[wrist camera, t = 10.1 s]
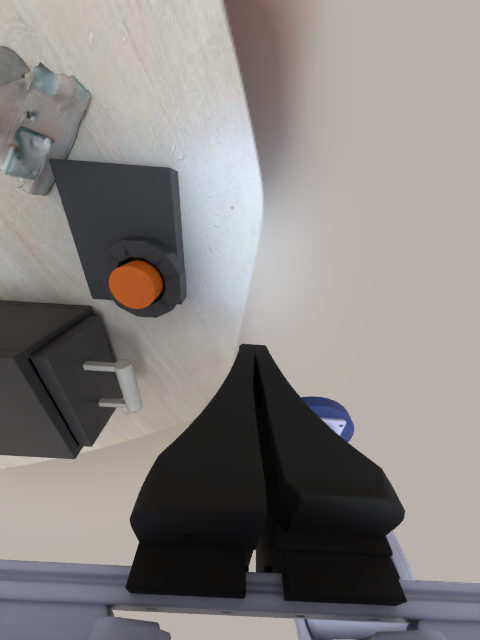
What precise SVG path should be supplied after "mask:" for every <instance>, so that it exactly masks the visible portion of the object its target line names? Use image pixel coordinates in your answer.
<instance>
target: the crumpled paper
mask: <svg viewBox="0 0 480 640" xmlns="http://www.w3.org/2000/svg"><path fill="white" fill-rule="evenodd" d="M90 98H91V93H90V92H89V91H88V90H86V89H85V88H84V87H83V86H82V85H81V83H80V82H79V81H78V80H77V79H76V78H75V77H74V76H73V75H72V76H71V78H70V77H69V76H67V75H66V74H55V73H53V72H52V71H50V70H49V69H48V68H46V67H45V66H44V65H43V64H42V63H41V62H40V64H39V66H37V67H34V68H33V67H30V66H28V65H26V63H25V62H24V61H23V60H22V58H21V57H20V56H19V55H18V54H17V53H16V52H15V51H13V50H11V49H9V48H8V47H5V46H0V170H2V171H4V172H5V173H6V174H7V175H11V176H15V177H18V179H19V180H21V181H24V184H23V186H21V187H17V188H21V189H23V190H24V191H26V192H27V193H29V194H34V195H44V196H46V195H47V192H48V191H49V190H50V187H51V186H52V184H53V183H54V181H55V178H54V175H53V172H52V169H51V166H50V163H49V159H59V160H65V159H66V157H67V155H68V153H69V151H70V150H71V147H72V146H73V144H74V141H75V138H76V137H77V129H78V126H79V123H80V120H81V119H82V118H84V113H85V112H86V108H87V106H88V103H89V100H90Z"/></svg>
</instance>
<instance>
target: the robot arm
mask: <svg viewBox="0 0 480 640" xmlns="http://www.w3.org/2000/svg"><path fill="white" fill-rule="evenodd" d="M345 425H346V421H345V419H343V418H326V417H319V416H318V415H316V414H315V413H314V412H313V410H312V409H311V408H310V407H309V406H308V405H307V404H306V403H305V402H304V401H303V400H302V398H301V397H300V396H299V395H298V394H297V393H296V391H295V390H294V389H293V388H292V386H291V385H290V384H289V382H288V381H287V380H286V378H285V377H284V375H283V374H282V372H281V371H280V369H279V368H278V366H277V365H276V363H275V362H274V360H273V358H272V356H271V355H270V353H269V351H268V349H267V347H266V346H265V345H251V344H241V345H240V347H239V352H238V355H237V357H236V360H235V362H234V364H233V366H232V368H231V370H230V372H229V374H228V376H227V377H226V379H225V381H224V383H223V384H222V386H221V387H220V389H219V390H218V392H217V393H216V395H215V396H214V397H213V399H212V400H211V401H210V403H209V404H208V405H207V406H206V408H205V409H204V410H203V411H202V412H201V414H200V415H199V416H198V417H197V418H196V419H195V420H194V421H193V422H192V424H191V425H190V426H189V427H188V428H187V429H186V430H185V431H184V432H183V433H182V434H181V435H180V436H179V437H178V438H177V439H176V440H175V441H174V442H173V443H172V444H170V445H169V447H167V448H166V449H165V450H164V451H163V452H162V453H161V454H160V455H159V456H158V458H157V459H156V461H155V463H154V465H153V466H152V468H151V470H150V471H149V474H148V475H147V477H146V479H145V481H144V483H143V485H142V487H141V490H140V492H139V495H138V498H137V500H136V503H135V506H134V509H133V511H132V514H131V517H130V523H131V527H132V529H133V531H134V533H135V535H136V537H137V538H138V540H139V545H138V548H137V551H136V555H135V558H134V561H133V564H132V566H118V565H98V564H78V563H57V562H38V561H17V560H0V640H171V636H170V633H168V632H165V631H163V630H160V627H159V624H158V623H157V622H149V621H142V620H135V619H127V618H120V617H114V614H113V611H112V610H125V611H146V612H167V613H189V614H210V615H232V616H254V617H275V618H294V621H295V624H296V629H297V634H298V639H299V640H332V639H357V640H480V583H460V582H459V583H458V582H439V581H420V580H416V579H415V577H414V574H413V572H412V570H411V568H410V566H409V563H408V561H407V559H406V557H405V555H404V553H403V550H402V548H401V546H400V544H399V542H398V540H397V538H396V536H395V534H394V532H393V531H392V530H393V529H395V528H396V527H397V526H398V525H399V524H400V523H401V522H402V521H403V519H404V515H405V510H404V508H403V506H402V504H401V502H400V501H399V498H398V496H397V494H396V492H395V490H394V489H393V487H392V485H391V483H390V481H389V480H388V478H387V477H386V475H385V473H384V472H383V470H382V469H381V468H380V467H379V466H378V465H376V464H375V463H374V462H372V461H371V460H370V459H368V458H367V457H366V456H364V455H363V454H362V453H360V452H359V451H358V450H357V449H355V448H354V447H352V446H351V445H350V444H348V442H346V441H345V440H344V439H343V438H342V437H341V436H340V434H341V432H342V430H343V429H344V427H345ZM253 550H256V572H249V567H248V566H249V563H250V560H251V557H252V553H253Z"/></svg>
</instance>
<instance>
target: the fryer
mask: <svg viewBox="0 0 480 640" xmlns="http://www.w3.org/2000/svg"><path fill="white" fill-rule="evenodd" d="M87 316H94V313H93V310H92V307H91V306H78V305H63V304H48V303H33V302H17V301H2V300H0V455H11V456H29V457H47V458H65V459H75V458H76V457H77V455H78V454H79V452H80V450H81V449H82V448H83V446H80V445H79V443H78V442H77V440H76V438H75V436H74V434H73V433H72V431H71V433H70V432H69V430H68V428H67V426H66V425H65V423H64V421H63V419H62V418H61V416H60V414H59V412H58V411H57V409H56V407H55V405H54V404H53V402H52V400H51V398H50V397H49V395H48V393H47V392H46V390H45V388H44V386H43V385H42V383H41V381H40V379H39V378H38V376H37V374H36V372H35V371H34V369H33V367H32V365H31V364H30V362H29V360H28V359H30V356H31V355H33V354H34V353H35V352H37V351H38V350H40V349H41V348H43V347H44V346H45V345H47V344H48V343H50V342H51V341H53V340H54V339H55V338H57V337H58V336H60V335H61V334H62V333H64V332H65V331H67V330H68V329H70V328H71V327H72V326H74V325H75V324H77V323H78V322H80V321H81V320H82V319H84V318H85V317H87Z"/></svg>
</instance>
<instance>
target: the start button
mask: <svg viewBox="0 0 480 640" xmlns="http://www.w3.org/2000/svg"><path fill="white" fill-rule="evenodd" d="M109 287H110V290H111V292H112V294H113V296H114V297H115V298H116V299H117V300H118V301H119V302H120V303H122V304H123V305H125V306H127V307H130V308H134V309H141V308H145V307H147V306H149V305H150V304H151V303H152V302H153V301H154V300H155V299H156V298H157V297H158V296H159V295H160V293H161V292H162V289H163V281H162V278H161V275H160V274H159V272H158V271H157V270H156V268H154V267H153V266H152V265H150V264H149V263H147V262H144V261H139V260H135V261H131V262H128V263H126V264H124V265H122V266H120V267H118V268H116V269H115V270H114V271H113V272H112V273H111V275H110V278H109Z"/></svg>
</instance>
